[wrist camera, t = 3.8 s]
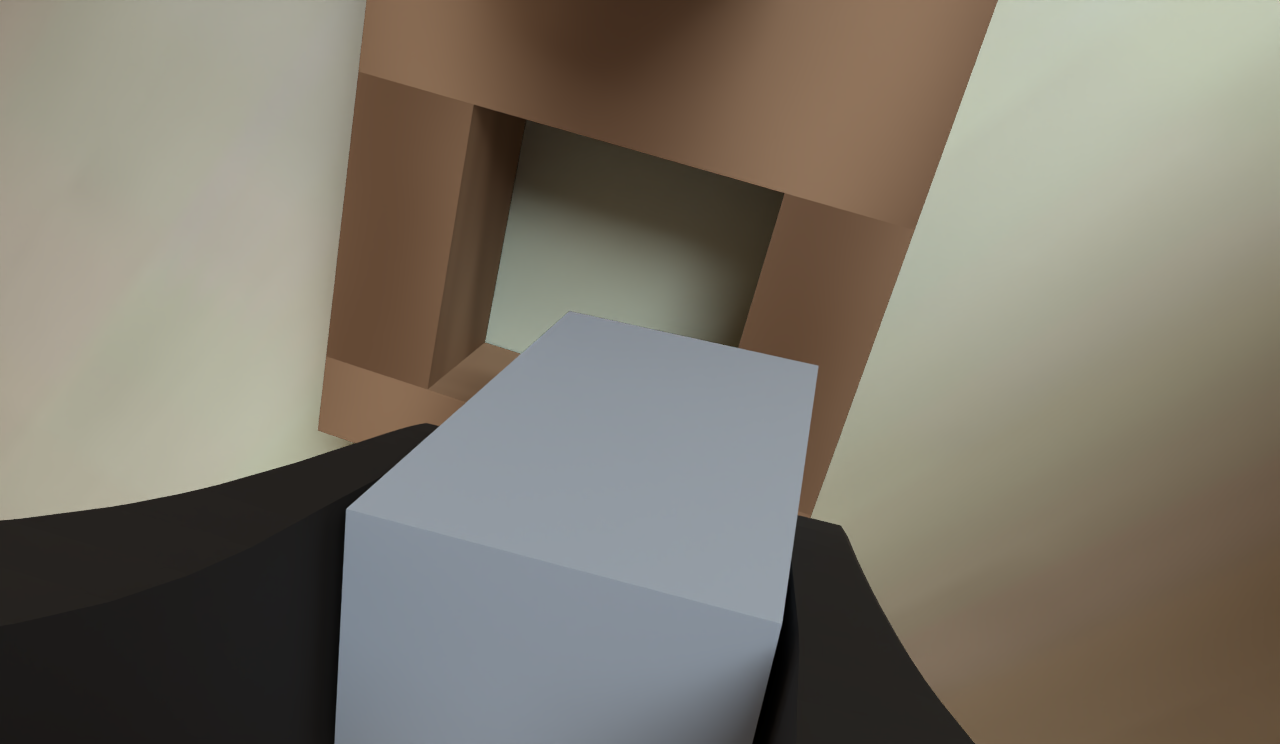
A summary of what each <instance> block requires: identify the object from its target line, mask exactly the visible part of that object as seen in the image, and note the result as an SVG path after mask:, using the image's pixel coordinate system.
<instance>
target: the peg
mask: <svg viewBox="0 0 1280 744" xmlns="http://www.w3.org/2000/svg"><path fill="white" fill-rule="evenodd" d="M817 373H818V365H813V364H808V363H804V362H799V361H795V360H790V359H786V358H781V357H777V356H772V355H768V354H763V353H758V352H754V351H749V350H745V349H740V348H736V347H731V346H727V345H722V344H717V343H713V342H708V341H704V340H699V339H695V338H690V337H686V336H681V335H676V334H672V333H667V332H663V331H658V330H654V329H649V328H645V327H640V326H635V325H631V324H626V323H622V322H617V321H613V320H608V319H604V318H599V317H594V316H590V315H585V314H581V313H576V312H572V311H569V312H568V313H566V314H565V315H564V316H563V317H562V318H561V319H560V320H559V321H557V322H556V323H555V324H554V325H553V326H552V327H551V328H550V329H548V330H547V331H546V332H545V333H544V334H543V335H542V336H541V337H539V338H538V339H537V340H536V341H535V342H534V343H533V344H532V345H530V346H529V347H528V348H527V349H526V350H525V351H524V352H522V353H521V354H520V355H519V356H518V357H517V358H516V359H515V360H513V361H512V362H511V363H510V364H509V365H508V366H507V367H506V368H504V369H503V370H502V371H501V372H500V373H499V374H498V375H497V376H495V377H494V378H493V379H492V380H491V381H490V382H489V383H488V384H486V385H485V386H484V387H483V388H482V389H481V390H480V391H479V392H477V393H476V394H475V395H474V396H473V397H472V398H471V399H470V400H468V401H467V402H466V403H465V404H464V405H463V406H462V407H461V408H459V409H458V410H457V411H456V412H455V413H454V414H453V415H451V416H450V417H449V418H448V419H447V420H446V421H445V422H444V423H442V424H441V425H440V426H439V427H438V428H437V429H436V430H435V431H433V432H432V433H431V434H430V435H429V436H428V437H427V438H426V439H424V440H423V441H422V442H421V443H420V444H419V445H418V446H417V447H415V448H414V449H413V450H412V451H411V452H410V453H409V454H408V455H406V456H405V457H404V458H403V459H402V460H401V461H400V462H399V463H397V464H396V465H395V466H394V467H393V468H392V469H391V470H389V471H388V472H387V473H386V474H385V475H384V476H383V477H382V478H380V479H379V480H378V481H377V482H376V483H375V484H374V485H373V486H371V487H370V488H369V489H368V490H367V491H366V492H365V493H364V494H362V495H361V496H360V497H359V498H358V499H357V500H356V501H355V502H353V503H352V504H351V505H350V506H349V507H348V508H347V509H346V522H345V542H344V562H343V583H342V603H341V623H340V643H339V663H338V683H337V703H336V723H335V743H334V744H752V742H753V738H754V734H755V730H756V726H757V722H758V718H759V714H760V710H761V706H762V702H763V698H764V694H765V690H766V686H767V682H768V678H769V674H770V670H771V666H772V662H773V658H774V654H775V650H776V646H777V642H778V638H779V634H780V630H781V626H782V621H783V614H784V607H785V600H786V593H787V586H788V579H789V572H790V564H791V557H792V550H793V543H794V536H795V529H796V522H797V515H798V508H799V501H800V494H801V487H802V480H803V472H804V465H805V458H806V451H807V444H808V437H809V430H810V423H811V416H812V409H813V402H814V395H815V388H816V380H817Z"/></svg>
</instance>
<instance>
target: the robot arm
mask: <svg viewBox="0 0 1280 744" xmlns="http://www.w3.org/2000/svg"><path fill="white" fill-rule="evenodd" d="M438 427H439V426H437V425H433V424H429V423H423V424H418V425H413V426H409V427H405V428H402V429H398V430H395V431H392V432H389V433H385V434H382V435H379V436H376V437H373V438H370V439H367V440H364V441H361V442H358V443H355V444H352V445H349V446H346V447H343V448H340V449H337V450H334V451H330V452H327V453H324V454H321V455H318V456H315V457H312V458H309V459H306V460H303V461H300V462H297V463H293V464H290V465H286V466H283V467H279V468H276V469H272V470H269V471H265V472H262V473H258V474H255V475H251V476H248V477H244V478H241V479H237V480H234V481H230V482H227V483H223V484H220V485H216V486H212V487H208V488H204V489H199V490H195V491H191V492H186V493H182V494H177V495H172V496H167V497H162V498H157V499H152V500H147V501H142V502H137V503H132V504H126V505H120V506H114V507H107V508H100V509H92V510H84V511H77V512H69V513H61V514H54V515H46V516H38V517H31V518H23V519H13V520H2V521H0V744H334V743H335V723H336V703H337V683H338V663H339V643H340V623H341V603H342V583H343V562H344V542H345V522H346V509H347V508H348V507H349V506H350V505H351V504H352V503H353V502H355V501H356V500H357V499H358V498H359V497H360V496H361V495H362V494H364V493H365V492H366V491H367V490H368V489H369V488H370V487H371V486H373V485H374V484H375V483H376V482H377V481H378V480H379V479H380V478H382V477H383V476H384V475H385V474H386V473H387V472H388V471H389V470H391V469H392V468H393V467H394V466H395V465H396V464H397V463H399V462H400V461H401V460H402V459H403V458H404V457H405V456H406V455H408V454H409V453H410V452H411V451H412V450H413V449H414V448H415V447H417V446H418V445H419V444H420V443H421V442H422V441H423V440H424V439H426V438H427V437H428V436H429V435H430V434H431V433H432V432H433V431H435V430H436V429H437V428H438ZM752 744H975V743H974V742H973V741H972V740H971V738H970V737H969V736H968V735H967V734H966V732H965V731H964V730H963V729H962V727H961V726H960V725H959V724H958V722H957V721H956V720H955V719H954V718H953V716H952V715H951V714H950V713H949V711H948V710H947V709H946V708H945V706H944V705H943V704H942V703H941V701H940V700H939V699H938V697H937V696H936V695H935V693H934V692H933V691H932V689H931V688H930V687H929V685H928V684H927V682H926V681H925V680H924V678H923V676H922V675H921V673H920V672H919V670H918V669H917V667H916V666H915V664H914V663H913V661H912V660H911V658H910V657H909V655H908V653H907V652H906V650H905V648H904V647H903V645H902V644H901V642H900V640H899V639H898V637H897V635H896V633H895V632H894V630H893V628H892V626H891V624H890V623H889V621H888V619H887V617H886V615H885V614H884V612H883V610H882V608H881V607H880V605H879V603H878V601H877V599H876V597H875V595H874V593H873V591H872V589H871V587H870V585H869V583H868V581H867V579H866V577H865V575H864V573H863V571H862V569H861V566H860V564H859V562H858V560H857V558H856V555H855V553H854V551H853V548H852V546H851V544H850V541H849V539H848V536H847V535H846V533H845V531H844V530H843V528H842V527H841V526H840V525H836V524H832V523H828V522H824V521H820V520H816V519H812V518H808V517H804V516H800V515H797V522H796V529H795V536H794V543H793V550H792V557H791V564H790V572H789V579H788V586H787V593H786V600H785V607H784V614H783V621H782V626H781V630H780V634H779V638H778V642H777V646H776V650H775V654H774V658H773V662H772V666H771V670H770V674H769V678H768V682H767V686H766V690H765V694H764V698H763V702H762V706H761V710H760V714H759V718H758V722H757V726H756V730H755V734H754V738H753V742H752Z"/></svg>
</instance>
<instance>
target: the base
mask: <svg viewBox="0 0 1280 744" xmlns="http://www.w3.org/2000/svg"><path fill="white" fill-rule="evenodd" d="M997 1H998V0H367V2H366V10H365V19H364V28H363V37H362V46H361V54H360V63H359V72H358V81H357V90H356V99H355V107H354V116H353V125H352V134H351V143H350V151H349V160H348V169H347V178H346V187H345V196H344V204H343V213H342V222H341V231H340V240H339V248H338V257H337V266H336V275H335V284H334V293H333V301H332V310H331V319H330V328H329V337H328V346H327V354H326V363H325V372H324V381H323V390H322V398H321V407H320V416H319V425H318V431H321V432H324V433H327V434H330V435H333V436H336V437H339V438H342V439H345V440H348V441H351V442H354V443H358V442H361V441H364V440H367V439H370V438H373V437H376V436H379V435H382V434H385V433H389V432H392V431H395V430H398V429H402V428H405V427H409V426H413V425H418V424H423V423H429V424H433V425H437V426H440V425H441V424H442V423H444V422H445V421H446V420H447V419H448V418H449V417H450V416H451V415H453V414H454V413H455V412H456V411H457V410H458V409H459V408H461V407H462V406H463V405H464V404H465V403H466V402H467V401H468V400H470V399H471V398H472V397H473V396H474V395H475V394H476V393H477V392H479V391H480V390H481V389H482V388H483V387H484V386H485V385H486V384H488V383H489V382H490V381H491V380H492V379H493V378H494V377H495V376H497V375H498V374H499V373H500V372H501V371H502V370H503V369H504V368H506V367H507V366H508V365H509V364H510V363H511V362H512V361H513V360H515V359H516V358H517V357H518V356H519V355H520V353H516V352H513V351H510V350H507V349H504V348H501V347H498V346H494V345H491V344H488V343H485V339H486V333H487V328H488V323H489V317H490V312H491V306H492V301H493V296H494V290H495V285H496V279H497V274H498V268H499V263H500V258H501V252H502V247H503V241H504V236H505V231H506V225H507V220H508V214H509V209H510V204H511V198H512V193H513V187H514V182H515V177H516V171H517V166H518V160H519V155H520V149H521V144H522V139H523V133H524V128H525V122H526V119H527V120H530V121H534V122H537V123H541V124H544V125H548V126H551V127H555V128H558V129H562V130H565V131H569V132H572V133H576V134H579V135H583V136H586V137H590V138H593V139H597V140H600V141H604V142H607V143H611V144H614V145H618V146H621V147H625V148H628V149H632V150H635V151H639V152H642V153H646V154H649V155H653V156H656V157H660V158H663V159H667V160H670V161H674V162H677V163H681V164H684V165H688V166H691V167H695V168H699V169H702V170H706V171H709V172H713V173H716V174H720V175H723V176H727V177H730V178H734V179H737V180H741V181H744V182H748V183H751V184H755V185H758V186H762V187H765V188H769V189H772V190H776V191H779V192H783V193H785V194H784V197H783V200H782V204H781V207H780V210H779V214H778V217H777V220H776V224H775V227H774V230H773V234H772V237H771V240H770V244H769V247H768V250H767V253H766V257H765V260H764V263H763V267H762V270H761V273H760V277H759V280H758V283H757V287H756V290H755V293H754V297H753V300H752V303H751V307H750V310H749V313H748V317H747V320H746V323H745V327H744V330H743V333H742V337H741V340H740V343H739V346H738V348H740V349H745V350H749V351H754V352H758V353H763V354H768V355H772V356H777V357H781V358H786V359H790V360H795V361H799V362H804V363H808V364H813V365H818V373H817V380H816V388H815V395H814V402H813V409H812V416H811V423H810V430H809V437H808V444H807V451H806V458H805V465H804V472H803V480H802V487H801V494H800V501H799V508H798V515H800V516H804V517H808V518H810V517H811V515H812V512H813V509H814V506H815V504H816V501H817V498H818V495H819V492H820V490H821V487H822V484H823V481H824V479H825V476H826V473H827V470H828V468H829V465H830V462H831V459H832V457H833V454H834V451H835V448H836V446H837V443H838V440H839V437H840V435H841V432H842V429H843V426H844V423H845V421H846V418H847V415H848V412H849V410H850V407H851V404H852V401H853V399H854V396H855V393H856V390H857V388H858V385H859V382H860V379H861V377H862V374H863V371H864V368H865V365H866V363H867V360H868V357H869V354H870V352H871V349H872V346H873V343H874V341H875V338H876V335H877V332H878V330H879V327H880V324H881V321H882V319H883V316H884V313H885V310H886V308H887V305H888V302H889V299H890V296H891V294H892V291H893V288H894V285H895V283H896V280H897V277H898V274H899V272H900V269H901V266H902V263H903V261H904V258H905V255H906V252H907V250H908V247H909V244H910V241H911V238H912V236H913V233H914V230H915V227H916V225H917V222H918V219H919V216H920V214H921V211H922V208H923V205H924V203H925V200H926V197H927V194H928V192H929V189H930V186H931V183H932V181H933V178H934V175H935V172H936V169H937V167H938V164H939V161H940V158H941V156H942V153H943V150H944V147H945V145H946V142H947V139H948V136H949V134H950V131H951V128H952V125H953V123H954V120H955V117H956V114H957V111H958V109H959V106H960V103H961V100H962V98H963V95H964V92H965V89H966V87H967V84H968V81H969V78H970V76H971V73H972V70H973V67H974V65H975V62H976V59H977V56H978V54H979V51H980V48H981V45H982V42H983V40H984V37H985V34H986V31H987V29H988V26H989V23H990V20H991V18H992V15H993V12H994V9H995V7H996V4H997Z"/></svg>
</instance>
